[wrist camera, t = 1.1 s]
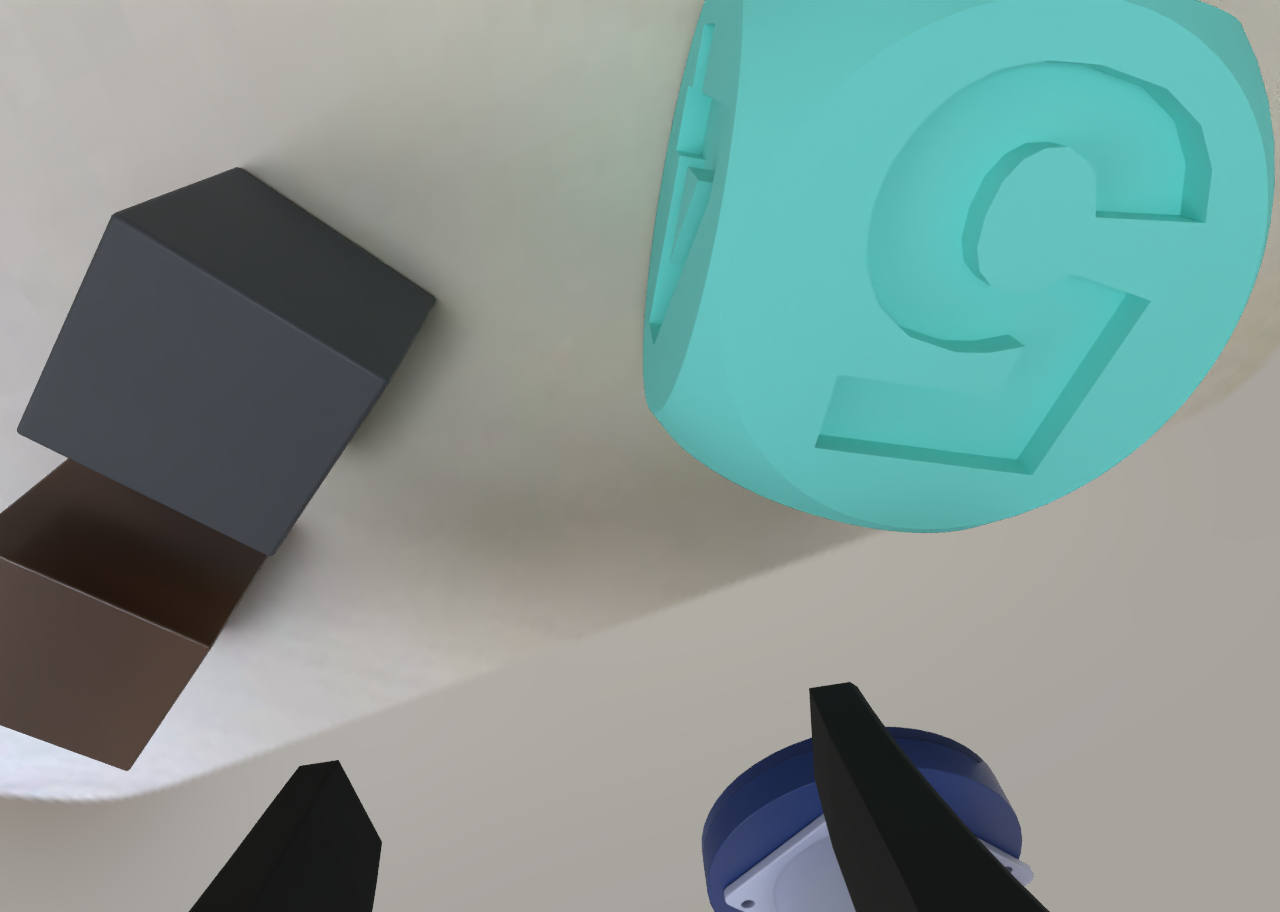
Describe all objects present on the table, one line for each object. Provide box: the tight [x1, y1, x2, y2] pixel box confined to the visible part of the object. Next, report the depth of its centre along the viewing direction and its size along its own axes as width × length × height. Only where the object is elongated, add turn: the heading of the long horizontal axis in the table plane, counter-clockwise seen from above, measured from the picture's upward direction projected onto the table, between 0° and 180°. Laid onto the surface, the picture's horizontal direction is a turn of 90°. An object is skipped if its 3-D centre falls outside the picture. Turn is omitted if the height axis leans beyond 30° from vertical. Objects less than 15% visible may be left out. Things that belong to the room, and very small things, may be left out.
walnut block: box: [0, 458, 268, 771], centre depth 19 cm, size 5×5×5 cm
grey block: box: [17, 167, 436, 556], centre depth 16 cm, size 5×5×5 cm
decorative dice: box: [643, 0, 1275, 533], centre depth 14 cm, size 8×8×8 cm
